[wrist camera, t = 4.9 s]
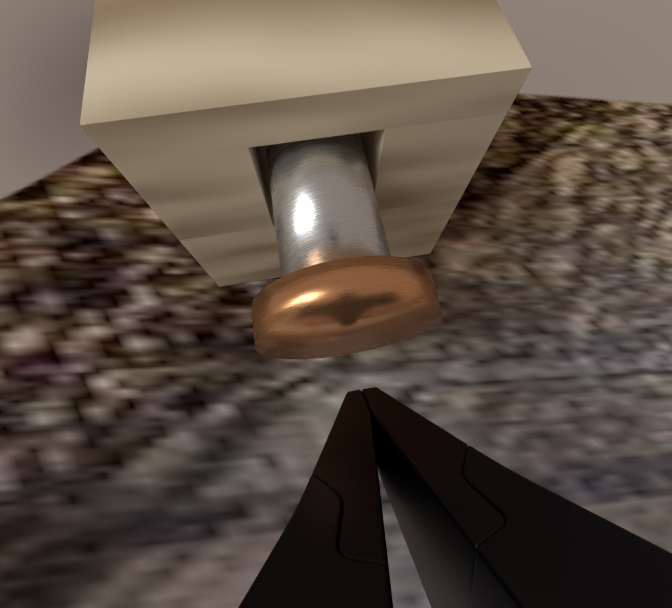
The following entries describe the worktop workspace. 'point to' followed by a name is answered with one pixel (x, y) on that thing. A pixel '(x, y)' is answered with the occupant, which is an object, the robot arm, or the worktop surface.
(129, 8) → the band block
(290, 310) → the peg
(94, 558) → the worktop surface
